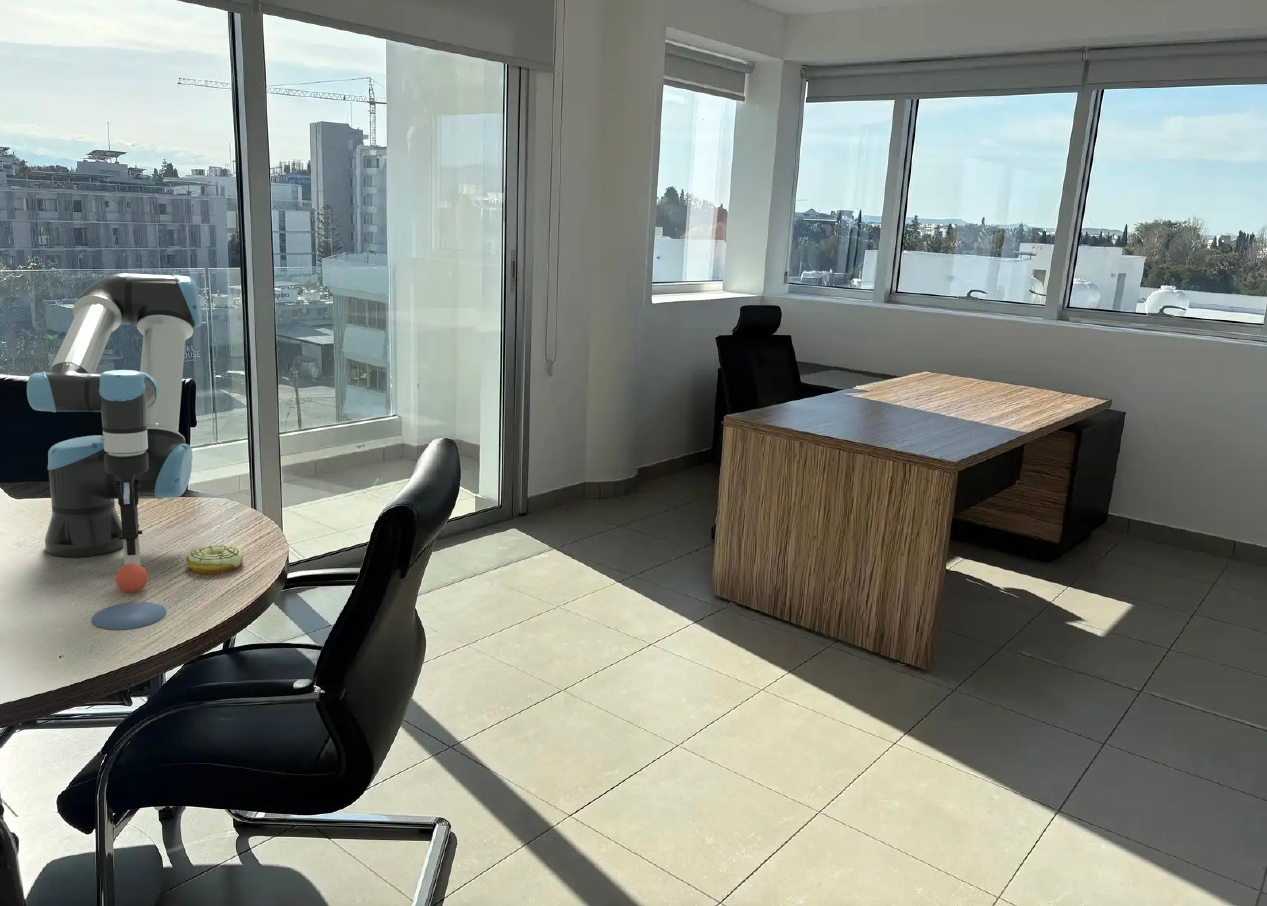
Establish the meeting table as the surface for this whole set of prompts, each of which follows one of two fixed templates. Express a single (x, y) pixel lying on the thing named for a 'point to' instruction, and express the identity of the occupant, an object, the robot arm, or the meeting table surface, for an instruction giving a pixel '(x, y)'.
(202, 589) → the meeting table surface
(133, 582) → the ball
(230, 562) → the decorated donut
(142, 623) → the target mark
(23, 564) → the meeting table surface
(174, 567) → the meeting table surface
